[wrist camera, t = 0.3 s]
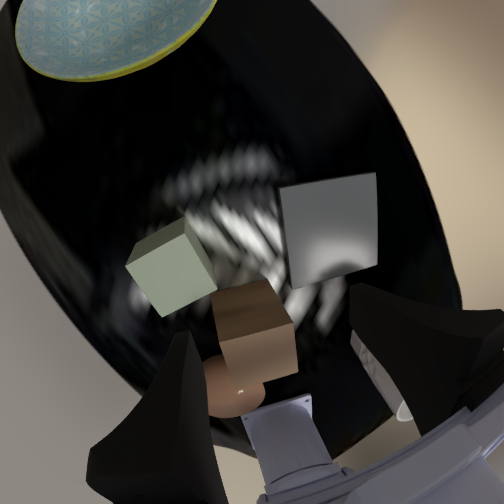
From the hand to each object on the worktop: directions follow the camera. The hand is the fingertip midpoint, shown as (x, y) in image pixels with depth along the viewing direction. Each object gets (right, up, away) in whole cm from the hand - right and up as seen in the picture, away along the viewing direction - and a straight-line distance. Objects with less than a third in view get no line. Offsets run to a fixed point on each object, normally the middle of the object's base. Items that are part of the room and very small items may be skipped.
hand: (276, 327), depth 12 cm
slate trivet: (+5, +5, +10) cm, 12 cm away
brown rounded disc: (-3, -8, +13) cm, 16 cm away
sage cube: (-7, +3, +8) cm, 11 cm away
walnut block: (-2, -1, +11) cm, 11 cm away
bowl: (-9, +19, +1) cm, 21 cm away
